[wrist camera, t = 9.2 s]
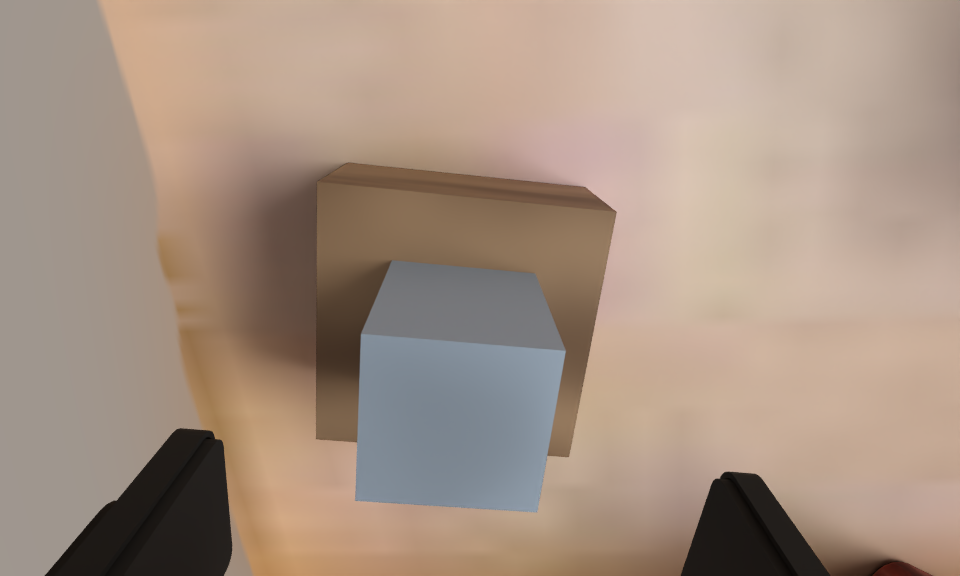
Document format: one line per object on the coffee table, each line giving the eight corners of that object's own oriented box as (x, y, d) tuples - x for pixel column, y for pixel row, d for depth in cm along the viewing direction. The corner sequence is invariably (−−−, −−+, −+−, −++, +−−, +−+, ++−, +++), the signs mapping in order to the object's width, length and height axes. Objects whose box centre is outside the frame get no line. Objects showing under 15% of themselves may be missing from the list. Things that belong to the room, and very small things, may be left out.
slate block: (392, 260, 19) (360, 333, 13) (535, 273, 19) (565, 351, 13) (385, 386, 20) (355, 500, 15) (516, 397, 21) (537, 512, 15)
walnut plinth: (347, 162, 22) (317, 182, 18) (585, 187, 23) (616, 211, 18) (343, 375, 26) (316, 439, 21) (550, 391, 26) (568, 457, 22)
